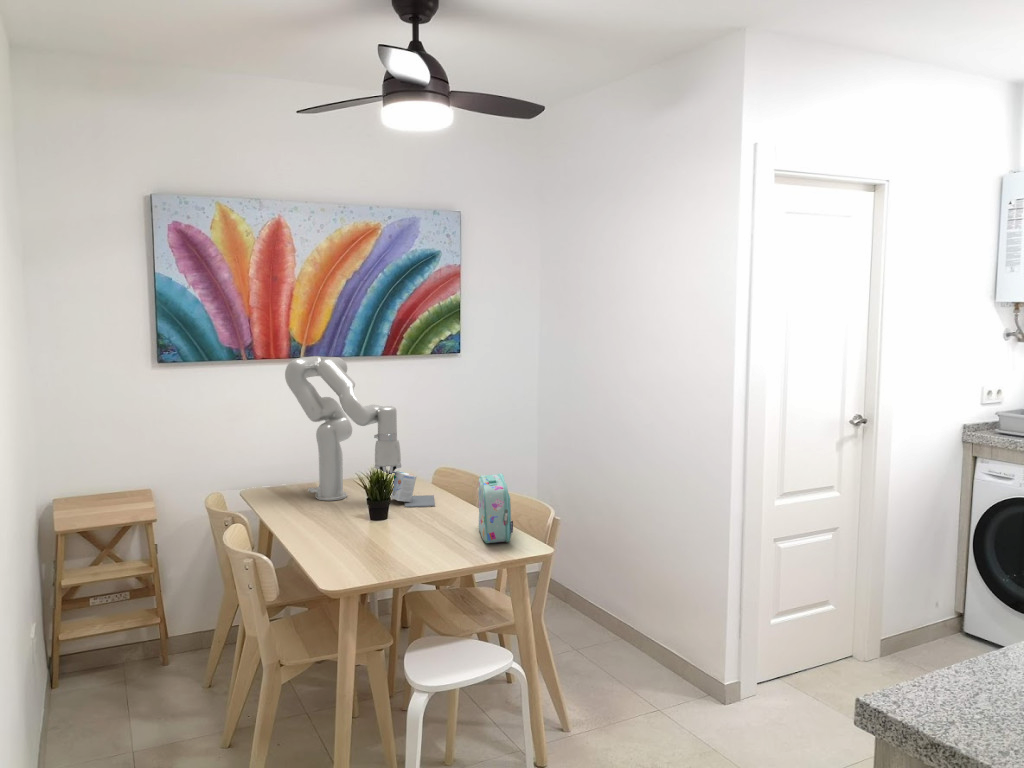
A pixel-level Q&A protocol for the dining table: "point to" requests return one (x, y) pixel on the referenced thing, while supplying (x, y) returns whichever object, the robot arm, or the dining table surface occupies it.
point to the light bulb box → (403, 486)
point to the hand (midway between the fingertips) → (388, 482)
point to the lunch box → (494, 509)
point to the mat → (421, 501)
